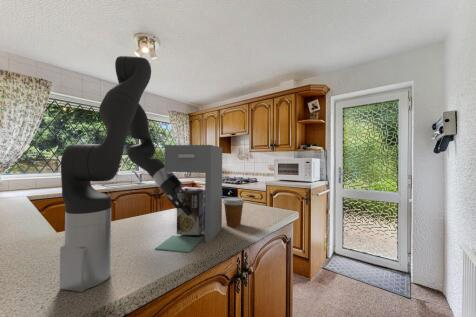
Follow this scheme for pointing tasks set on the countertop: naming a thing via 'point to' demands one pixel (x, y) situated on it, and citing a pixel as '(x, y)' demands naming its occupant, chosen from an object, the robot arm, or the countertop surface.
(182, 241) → the mat
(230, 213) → the disposable coffee cup
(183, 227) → the coffee box
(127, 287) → the countertop surface
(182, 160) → the grey tall hooked frame
